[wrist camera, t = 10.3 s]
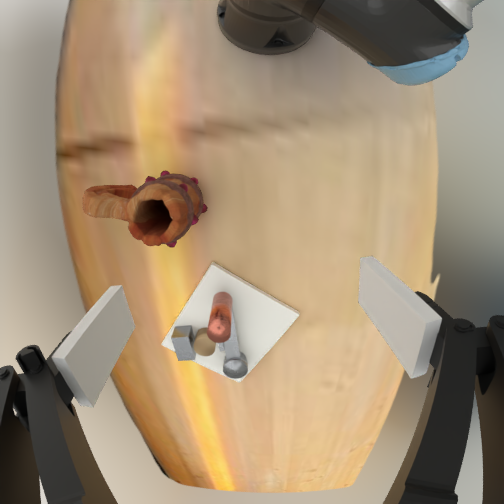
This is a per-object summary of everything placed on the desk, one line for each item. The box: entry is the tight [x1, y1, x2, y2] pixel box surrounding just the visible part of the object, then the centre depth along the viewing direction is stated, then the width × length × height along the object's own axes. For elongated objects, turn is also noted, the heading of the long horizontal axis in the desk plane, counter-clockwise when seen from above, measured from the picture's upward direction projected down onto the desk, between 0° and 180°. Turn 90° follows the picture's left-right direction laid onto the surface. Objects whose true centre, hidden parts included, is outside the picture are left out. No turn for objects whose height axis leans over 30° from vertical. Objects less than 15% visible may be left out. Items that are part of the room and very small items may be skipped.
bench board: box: [162, 262, 299, 383], centre depth 48 cm, size 19×17×2 cm
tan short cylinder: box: [194, 327, 216, 356], centre depth 46 cm, size 4×4×4 cm
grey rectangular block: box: [171, 325, 196, 361], centre depth 46 cm, size 5×3×4 cm, turn 6°
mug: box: [83, 171, 207, 247], centre depth 34 cm, size 15×8×15 cm, turn 74°
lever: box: [207, 292, 248, 379], centre depth 42 cm, size 18×4×10 cm, turn 6°
